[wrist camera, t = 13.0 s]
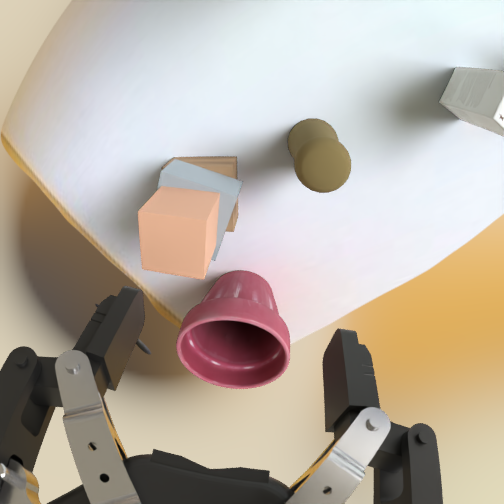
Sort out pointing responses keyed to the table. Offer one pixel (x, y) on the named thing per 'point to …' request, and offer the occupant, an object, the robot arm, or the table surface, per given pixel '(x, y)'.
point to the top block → (204, 189)
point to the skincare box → (477, 97)
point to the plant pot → (235, 334)
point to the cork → (318, 156)
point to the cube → (179, 231)
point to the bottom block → (218, 165)
